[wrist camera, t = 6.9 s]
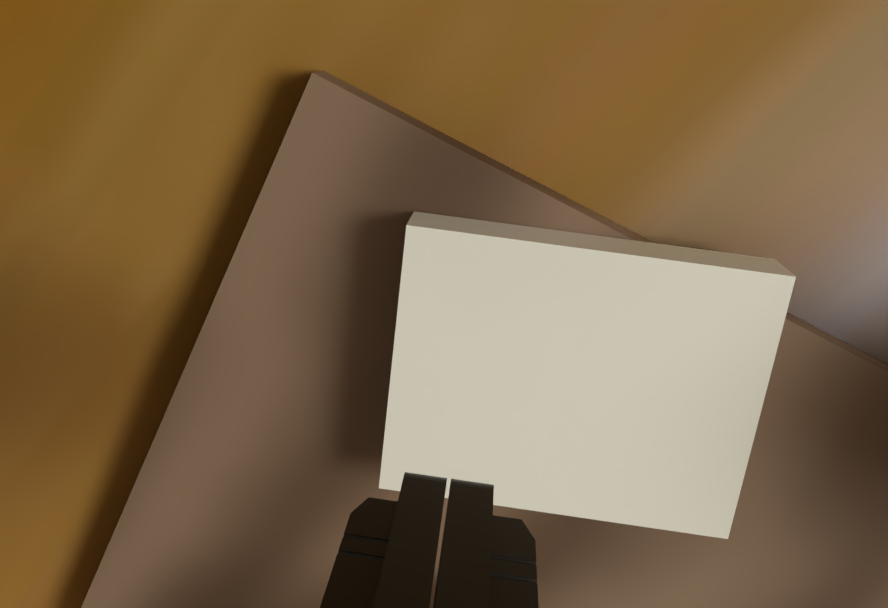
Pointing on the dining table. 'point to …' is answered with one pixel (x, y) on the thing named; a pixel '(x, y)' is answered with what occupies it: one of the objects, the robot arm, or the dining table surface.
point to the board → (366, 398)
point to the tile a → (581, 370)
